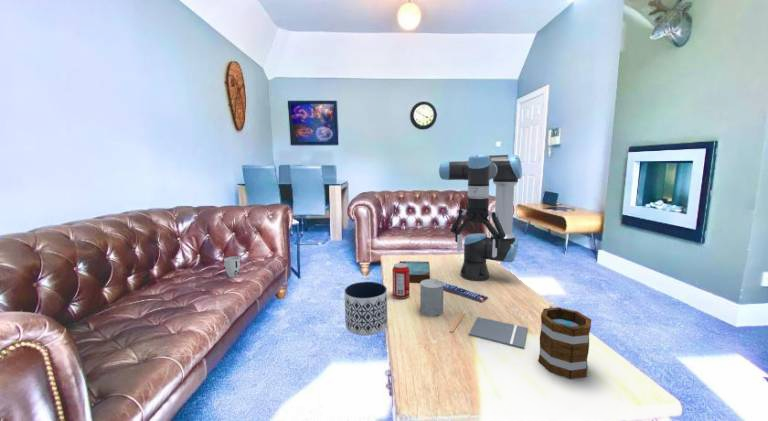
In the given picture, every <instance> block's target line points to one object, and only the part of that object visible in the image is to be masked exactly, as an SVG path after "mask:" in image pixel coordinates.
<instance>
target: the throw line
mask: <svg viewBox="0 0 768 421" xmlns="http://www.w3.org/2000/svg"><path fill="white" fill-rule="evenodd" d="M464 316H465V312H461V313H460V314H459V316H458V318H457V319H456V321H455V322H454V324H453V325H452V327H451V329H450V330H449V333H454V332H455V330H456V329H457V327H458V325H459V324H460V322H461V321H462V319H463V317H464Z"/></svg>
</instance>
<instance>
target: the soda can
mask: <svg viewBox="0 0 768 421" xmlns="http://www.w3.org/2000/svg"><path fill="white" fill-rule="evenodd" d="M391 274H392V275H391V276H392V296H393V297H394V298H396V299H401V300H402V299H406V298H408V297H409V296H410V294H411V293H410V289H411V287H410V269H409V267H408V265H407V264H405V263H399V262H398V263H394V264H393V267H392V273H391Z"/></svg>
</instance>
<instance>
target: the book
mask: <svg viewBox="0 0 768 421" xmlns="http://www.w3.org/2000/svg"><path fill="white" fill-rule="evenodd" d="M398 263H405V264H407V265H408V267H409V269H410V283H411V284H420V282H421V281H422V280H426V279H431V273H430V271H431V270H430V261H421V260H420V261H419V260H418V261H415V260H414V261H411V260H403V261H402V260H400V261H399V262H398Z"/></svg>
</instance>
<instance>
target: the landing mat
mask: <svg viewBox="0 0 768 421" xmlns="http://www.w3.org/2000/svg"><path fill="white" fill-rule="evenodd" d="M528 330H529V329H528V327H525V326H520V325H517V324H511V323H508V322H503V321H498V320H493V319H489V318H486V317H480V316H477V317H476V319H475V321H474V323H473V324H472V326H471V327H470V330H469V332H468V336H469V337H470V336H471V337H475V338H479V339H483V340H485V341H486V340H487V341H490V342H494V343H499V344H502V345H506V346H510V347H515V348H517V349H522V350H524V349H525V345H526V340H527V335H528Z"/></svg>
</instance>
